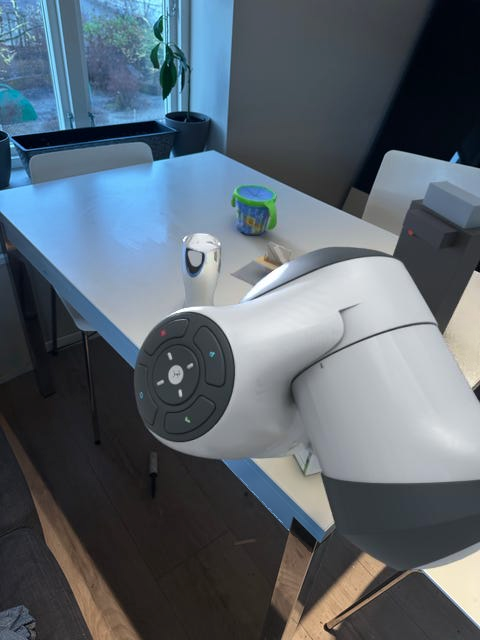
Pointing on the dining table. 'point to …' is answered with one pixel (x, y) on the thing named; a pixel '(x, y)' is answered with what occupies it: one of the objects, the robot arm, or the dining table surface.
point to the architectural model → (264, 264)
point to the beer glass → (200, 268)
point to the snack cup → (254, 208)
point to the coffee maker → (441, 246)
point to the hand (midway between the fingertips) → (308, 415)
